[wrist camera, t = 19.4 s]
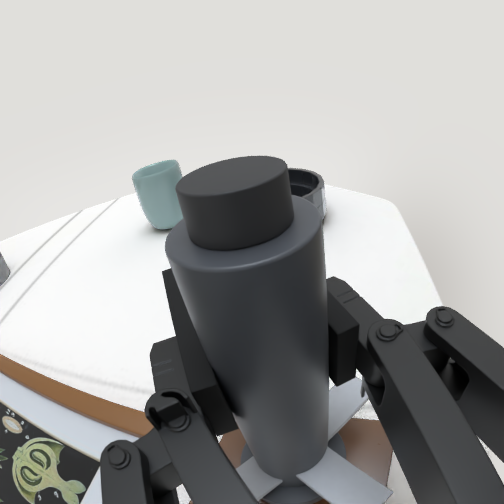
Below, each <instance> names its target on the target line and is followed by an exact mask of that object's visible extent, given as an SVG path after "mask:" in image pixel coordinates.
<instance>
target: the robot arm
mask: <svg viewBox="0 0 504 504" xmlns="http://www.w3.org/2000/svg"><path fill="white" fill-rule="evenodd" d="M162 274H163V279H164V284H165V289H166V294H167V298H168V303H169V308H170V312H171V317H172V321H173V325H174V330H175V334H176V336H175V337H172V338H169V339H166V340H163V341H160V342H157V343H154V344H153V346H152V349H151V352H150V361H151V367H152V374H153V380H154V386H155V392H156V393H154V394H153V395H152V396H151V397H150V398H149V400H148V401H147V403H146V406H145V416H146V418H147V419H148V420H149V422H150V423H151V424H152V425H153V426H154V427H153V429H152V430H151V431H150V432H148V433H147V434H146V435H144V436H143V437H141V438H139V439H138V440H136V441H134V442H130V441H128V440H116V441H113V442H111V443H109V444H108V445H107V446H106V447H105V448H104V450H103V451H102V453H101V457H100V477H101V493H102V504H179V500H178V496H177V491H176V487H178V486H179V485H181V484H182V483H183V485H184V487H185V489H186V491H187V493H188V495H189V497H190V498H191V500H192V502H193V504H259V502H258V501H257V499H256V498H255V497H254V495H253V494H252V492H251V491H250V490H249V488H248V487H247V485H246V484H245V482H244V481H243V479H242V478H241V476H240V475H239V473H238V472H237V470H236V469H235V467H234V466H233V464H232V463H231V461H230V460H229V458H228V457H227V455H226V454H225V452H224V450H223V449H222V447H221V446H220V444H219V443H218V440H217V437H216V435H217V436H220V435H223V434H226V433H228V432H231V431H234V430H237V429H239V428H238V426H237V423H236V421H235V418H234V416H233V413H232V411H231V409H230V407H229V404H228V402H227V400H226V398H225V396H224V394H223V391H222V389H221V387H220V385H219V383H218V380H217V378H216V376H215V374H214V371H213V369H212V367H211V364H210V363H209V361H208V359H207V356H206V354H205V352H204V349H203V347H202V345H201V342H200V340H199V337H198V335H197V333H196V330H195V328H194V325H193V323H192V320H191V318H190V315H189V313H188V310H187V308H186V305H185V303H184V300H183V298H182V295H181V292H180V290H179V287H178V285H177V282H176V279H175V277H174V274H173V271H172V268H171V269H168V270H165V271H162ZM326 287H327V309H328V342H329V377H330V378H331V380H332V381H333V382H334V384H335V385H336V387H338V386H340V385H342V384H344V383H346V382H348V381H350V380H352V379H354V378H355V375H356V368H357V370H358V371H359V372H360V373H361V375H362V376H363V377H362V385H361V392H360V393H361V398H363V397H364V396H365V391H366V393H367V395H368V397H369V400H370V402H371V404H372V406H373V408H374V410H375V412H376V414H377V416H378V418H379V420H380V423H381V425H382V427H383V429H384V431H385V433H386V435H387V437H388V440H389V442H390V444H391V446H392V448H393V450H394V453H395V455H396V457H397V459H398V461H399V463H400V466H401V468H402V470H403V472H404V475H405V477H406V479H407V481H408V484H409V486H410V488H411V490H412V493H413V495H414V497H415V500H416V502H417V504H504V485H503V483H502V481H501V479H500V477H499V475H498V474H497V471H496V469H495V468H494V466H493V464H492V462H491V460H490V458H489V457H488V455H487V453H486V451H485V450H484V448H483V446H482V444H481V443H480V441H479V439H478V437H479V438H480V439H481V440H482V441H483V442H484V443H485V444H486V445H487V446H488V447H489V448H490V449H491V450H492V451H493V452H494V453H495V455H497V456H498V458H499V459H500V460H501V461H502V462H503V463H504V348H503V347H502V346H501V345H499V344H498V343H497V342H496V341H494V340H493V339H492V338H490V337H489V336H488V335H487V334H485V333H484V332H483V331H482V330H480V329H479V328H478V327H476V326H475V325H474V324H473V323H471V322H470V321H469V320H467V319H466V318H465V317H463V316H462V315H461V314H459V313H458V312H457V311H455V310H453V309H451V308H449V307H444V306H441V307H435V308H433V309H431V310H430V311H429V312H428V313H427V317H426V320H425V321H421V322H417V323H412V324H407V325H402V324H401V323H400V322H398V321H396V320H392V319H384V318H383V317H382V316H381V315H379V314H378V313H377V312H376V311H375V310H374V309H373V308H372V307H371V306H370V305H369V304H368V303H367V302H366V301H365V300H364V299H363V298H362V297H360V296H359V294H358V293H357V292H356V291H355V290H354V291H353V289H352V288H351V287H350V286H349V285H348V284H347V283H346V282H345V281H343V280H341V279H338V278H336V277H331V278H328V279H326ZM476 435H477V436H478V437H477V436H476Z"/></svg>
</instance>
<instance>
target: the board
mask: <svg viewBox="0 0 504 504" xmlns="http://www.w3.org/2000/svg"><path fill="white" fill-rule="evenodd" d="M236 423H237V422H236ZM237 426H238V424H237ZM238 428H239V426H238ZM338 433H339V435H340V436H341V438H342V440H343V442H344V445H345V448H346V460H347V461H348V462H350V463H351V464H353V465H354V466H355V467H357V468H358V469H360V470H361V471H363V472H364V473H366V474H367V475H369V476H370V477H372V478H373V479H375V480H376V481H378V482H379V483H381V484H382V485H384V486H385V487H386V486H387V481H388V475H389V470H390V464H391V458H392V452H393V448H392V446H391V444H390V442H389V440H388V437H387V435H386V433H385V431H384V429H383V427H382V425H381V423H380V420H368V419H357V418H351V419H350V420H349V421H348V422H347V423H346V424H345V425H344V426H343V427H342V428H341V429H340V430H339V431H338ZM219 444H220V446H221V447H222V449H223V450H224V452H225V454H226V455H227V457H228V458H229V460H230V461H231V463H232V464H233V466H234V467H235V469H237V468H238V467H239V466H241V465H240V462H241V454H242V451H243V448H244V446H245V444H246V440H245V438H244V436H243V434H242V432H241V430H240V428H239V429H237V430H234V431H231V432H228V433H226V434H223V437H222V439H221V441H220V443H219ZM258 502H259V504H270V503H267V502H265V501H264V500H262V499H260V500H259V501H258ZM189 504H193V502H192V501H191V500H190V502H189ZM313 504H330V503H329V502H328V501H326V500H325V499H324V498H323V499H321V500H320V501H318V502H315V503H313Z"/></svg>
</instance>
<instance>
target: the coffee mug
mask: <svg viewBox="0 0 504 504" xmlns="http://www.w3.org/2000/svg"><path fill="white" fill-rule="evenodd" d="M9 274H10V270H9V268H8V266H7V264H6V262H5V260H4V258H3V256H2V254H1V252H0V286H1V285H2V284H3V283H4V281H5V280H6V279H7V278H8V276H9Z"/></svg>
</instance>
